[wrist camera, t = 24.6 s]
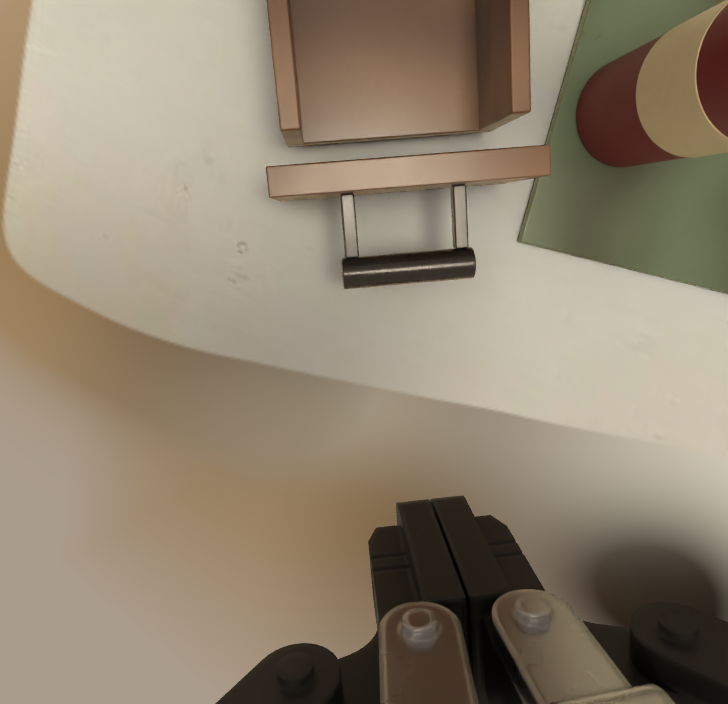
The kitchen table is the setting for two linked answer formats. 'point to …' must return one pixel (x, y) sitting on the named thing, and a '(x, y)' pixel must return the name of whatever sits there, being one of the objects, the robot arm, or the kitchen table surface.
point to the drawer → (401, 109)
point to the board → (629, 171)
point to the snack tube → (661, 97)
